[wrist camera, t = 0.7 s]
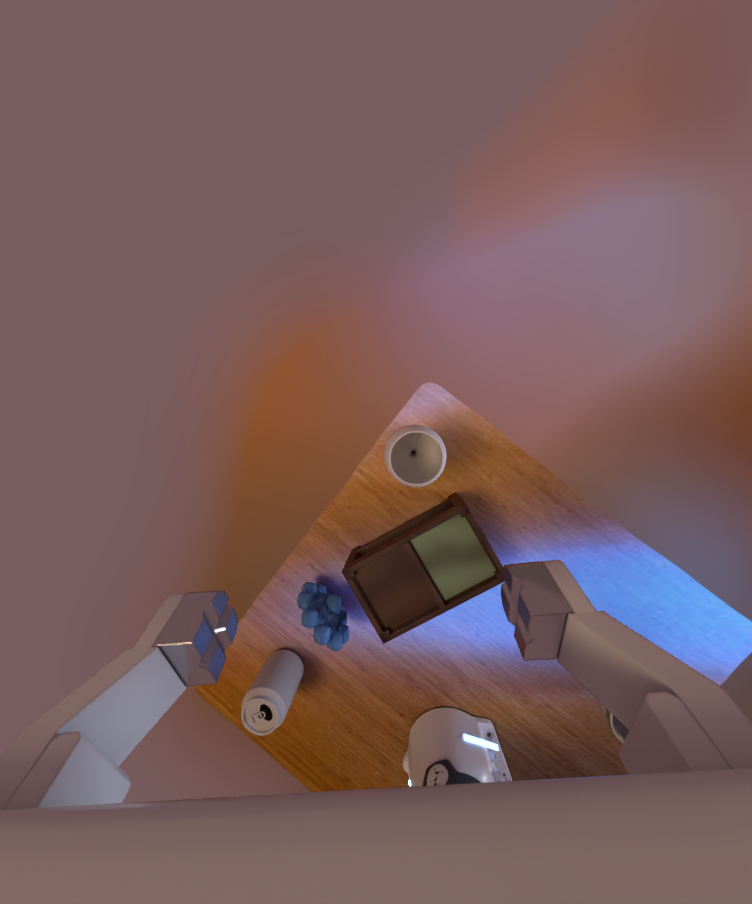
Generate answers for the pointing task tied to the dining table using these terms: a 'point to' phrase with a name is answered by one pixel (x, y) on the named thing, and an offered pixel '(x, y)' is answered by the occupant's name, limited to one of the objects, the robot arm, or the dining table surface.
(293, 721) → the dining table surface
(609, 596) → the dining table surface
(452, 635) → the dining table surface
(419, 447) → the wineglass
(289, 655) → the can
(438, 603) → the tray
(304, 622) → the grapes
